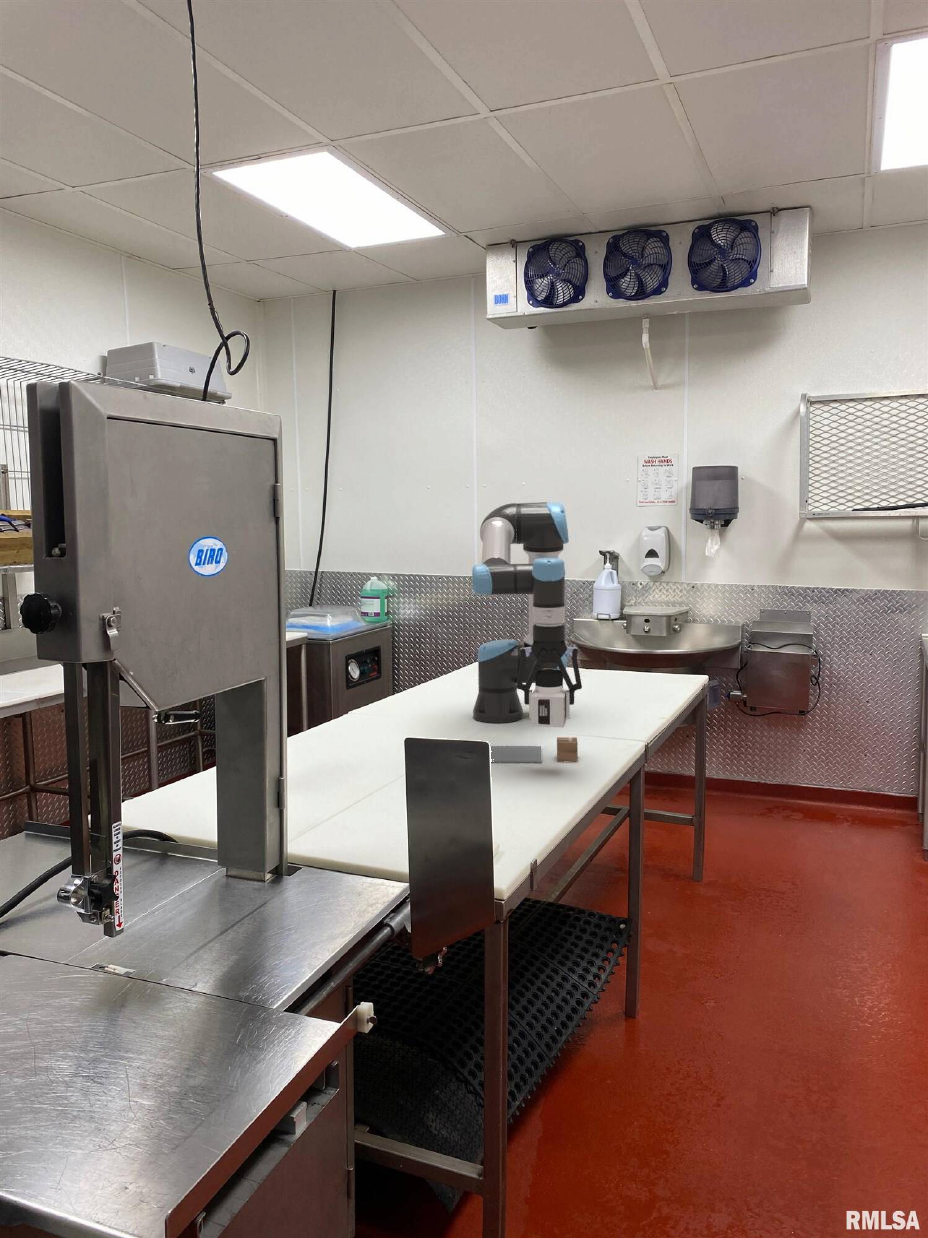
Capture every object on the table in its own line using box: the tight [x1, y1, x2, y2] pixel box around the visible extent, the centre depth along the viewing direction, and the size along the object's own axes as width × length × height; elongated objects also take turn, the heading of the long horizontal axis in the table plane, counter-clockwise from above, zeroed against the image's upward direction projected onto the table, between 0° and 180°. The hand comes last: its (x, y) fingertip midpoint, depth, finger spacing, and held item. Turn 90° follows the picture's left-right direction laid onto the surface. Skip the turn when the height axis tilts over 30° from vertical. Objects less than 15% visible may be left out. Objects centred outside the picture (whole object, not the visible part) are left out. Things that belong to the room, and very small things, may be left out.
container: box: [530, 669, 567, 729], centre depth 207 cm, size 8×8×13 cm
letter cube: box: [556, 736, 579, 763], centre depth 218 cm, size 5×5×5 cm
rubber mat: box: [490, 745, 542, 764], centre depth 222 cm, size 14×14×1 cm
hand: (549, 717), depth 207 cm, fingers closed on container, 8 cm apart
